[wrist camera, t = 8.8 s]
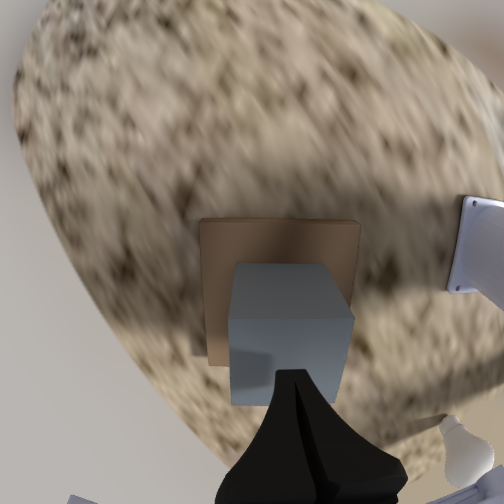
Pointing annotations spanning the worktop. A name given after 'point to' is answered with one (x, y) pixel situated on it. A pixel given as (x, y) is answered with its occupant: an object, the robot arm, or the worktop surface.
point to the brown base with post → (267, 261)
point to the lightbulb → (464, 453)
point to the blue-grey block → (285, 329)
